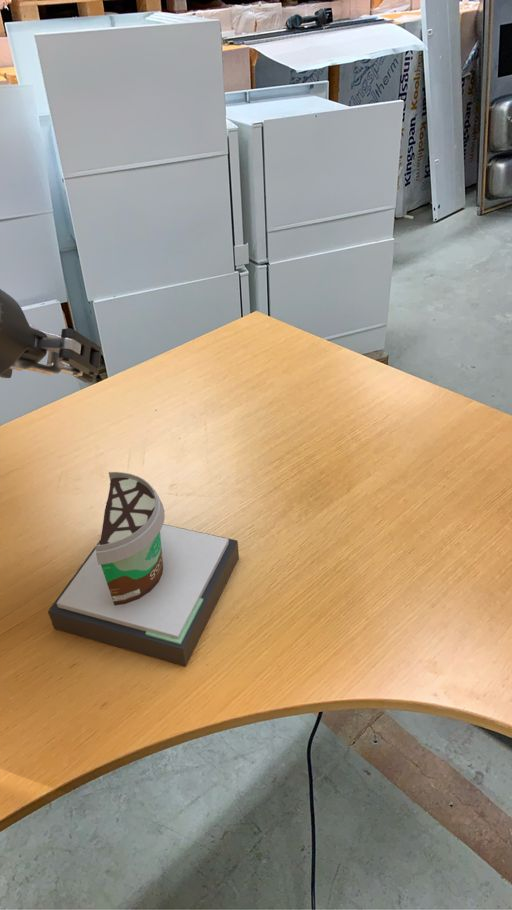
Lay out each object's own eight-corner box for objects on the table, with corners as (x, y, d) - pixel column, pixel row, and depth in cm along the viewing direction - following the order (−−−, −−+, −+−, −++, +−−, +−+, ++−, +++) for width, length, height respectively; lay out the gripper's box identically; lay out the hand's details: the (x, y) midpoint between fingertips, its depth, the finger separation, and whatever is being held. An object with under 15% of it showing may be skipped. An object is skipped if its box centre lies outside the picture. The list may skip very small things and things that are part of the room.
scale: (53, 628, 72) (45, 606, 70) (122, 530, 84) (117, 509, 82) (185, 666, 68) (181, 644, 65) (239, 557, 80) (237, 535, 77)
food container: (171, 612, 69) (158, 545, 62) (112, 616, 68) (94, 550, 62) (175, 529, 78) (165, 464, 72) (124, 533, 78) (109, 468, 72)
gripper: (48, 270, 48) (123, 336, 64) (-128, 265, 50) (-13, 330, 66) (36, 371, 47) (114, 412, 63) (-143, 361, 49) (-23, 403, 65)
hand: (49, 370), depth 64 cm, fingers open, 8 cm apart
